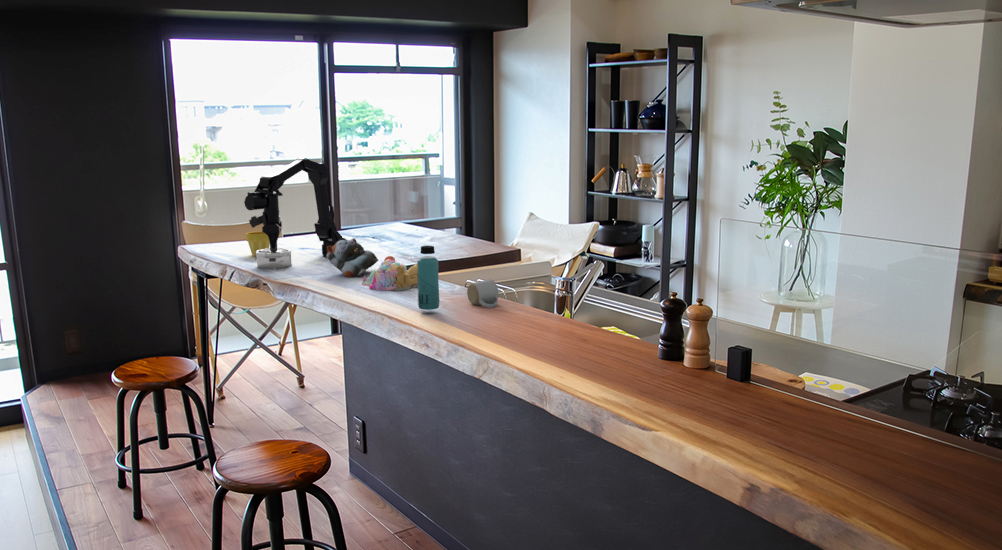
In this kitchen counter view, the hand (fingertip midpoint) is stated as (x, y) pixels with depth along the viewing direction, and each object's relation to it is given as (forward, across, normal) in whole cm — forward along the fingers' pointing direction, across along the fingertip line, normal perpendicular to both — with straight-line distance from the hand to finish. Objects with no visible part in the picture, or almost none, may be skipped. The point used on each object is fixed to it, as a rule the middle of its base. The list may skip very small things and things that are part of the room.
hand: (273, 247), depth 295 cm
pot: (+8, 0, 0) cm, 8 cm away
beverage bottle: (+8, +89, +50) cm, 102 cm away
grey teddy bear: (+8, +23, +30) cm, 39 cm away
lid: (+2, 0, 0) cm, 2 cm away
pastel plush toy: (+8, +45, +44) cm, 63 cm away
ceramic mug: (+8, +83, +68) cm, 108 cm away
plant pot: (+8, -29, -8) cm, 31 cm away
